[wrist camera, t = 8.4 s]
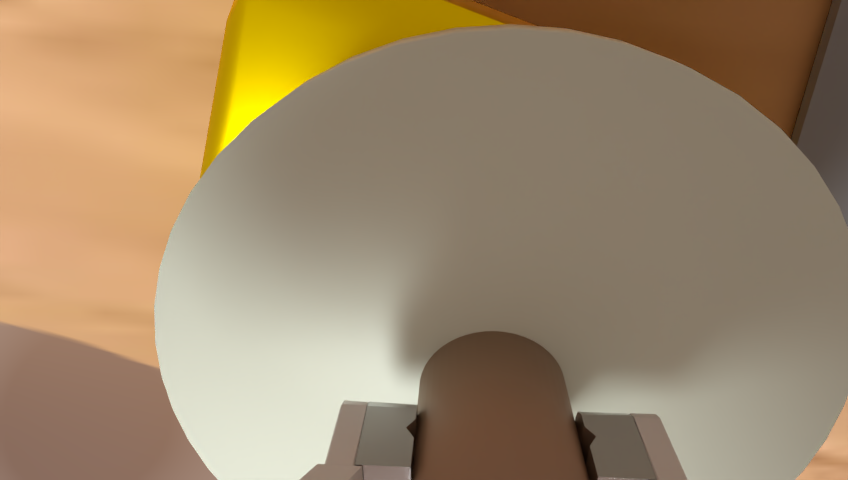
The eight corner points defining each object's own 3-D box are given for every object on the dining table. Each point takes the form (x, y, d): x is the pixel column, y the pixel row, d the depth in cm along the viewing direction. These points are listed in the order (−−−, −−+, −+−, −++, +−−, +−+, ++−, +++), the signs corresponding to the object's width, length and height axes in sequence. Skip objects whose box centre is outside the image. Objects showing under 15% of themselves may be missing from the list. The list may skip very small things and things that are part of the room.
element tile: (757, 109, 17) (854, 157, 13) (551, 437, 24) (571, 540, 20) (292, -70, 16) (230, -82, 12) (209, 331, 22) (150, 418, 18)
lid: (954, 26, 9) (1488, 93, 5) (736, 579, 16) (857, 849, 11) (102, 22, 10) (-226, 75, 5) (229, 549, 17) (134, 788, 12)
